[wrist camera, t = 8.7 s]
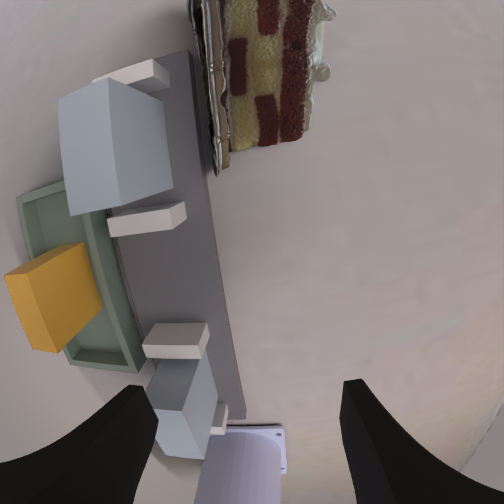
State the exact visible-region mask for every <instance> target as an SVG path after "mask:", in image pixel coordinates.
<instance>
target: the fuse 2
mask: <svg viewBox="0 0 504 504" xmlns="http://www.w3.org/2000/svg"><path fill="white" fill-rule="evenodd" d="M145 393H146V395H147V397H148V399H149V401H150V403H151V405H152V407H153V409H154V411H155V413H156V415H157V417H158V419H159V423H158V428H157V432H156V437H155V439H156V440H157V442H158V444H159V445H160V447H161V449H162V450H163V452H164V453H165V455H168V456H175V457H183V458H192V459H203V460H204V458H205V454H206V449H207V445H208V440H209V436H210V431H211V427H212V422H213V418H214V414H215V409H216V405H217V400H218V394H217V390H216V387H215V383H214V379H213V376H212V372H211V368H210V364H209V360H208V356H207V352H206V348H205V351H204V354H203V357H202V359H166V358H162V359H161V361H160V363H159V365H158V367H157V369H156V371H155V373H154V375H153V377H152V379H151V381H150V383H149V385H148V387H147V389H146V391H145Z"/></svg>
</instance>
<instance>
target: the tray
mask: <svg viewBox="0 0 504 504" xmlns="http://www.w3.org/2000/svg"><path fill="white" fill-rule="evenodd" d="M16 199H17V205H18V211H19V216H20V221H21V226H22V231H23V235H24V239H25V243H26V247H27V251H28V255H29V259H30V261H31V260H33V259H34V258H36V257H38V256H40V255H42V254H44V253H46V252H48V251H50V250H52V249H54V248H56V247H57V246H60V245H66V244H72V243H79V242H84V243H85V247H86V251H87V255H88V259H89V262H90V266H91V270H92V273H93V277H94V280H95V283H96V287H97V290H98V293H99V296H100V300H101V303H102V306H103V308H102V309H101V310H100V311H99V312H98V313H97V314H96V315H95V316H94V317H93V318H92V319H91V320H90V321H89V322H88V323H87V324H86V325H85V326H84V327H83V328H82V329H81V330H80V331H79V332H78V333H77V334H76V335H75V336H74V337H73V338H72V339H71V340H70V341H69V342H68V343H67V344H66V346H65V347H64V348H63V350H64V353H65V355H66V357H67V359H68V361H69V363H70V365H76V366H83V367H89V368H97V369H104V370H113V371H122V372H133V373H139V371H140V369H141V368H142V366H143V364H144V362H145V361H146V359H147V358H146V355H145V353H144V350H143V347H142V340H141V338H140V335H139V332H138V329H137V326H136V323H135V320H134V317H133V313H132V310H131V307H130V304H129V300H128V297H127V293H126V290H125V286H124V283H123V279H122V276H121V272H120V268H119V264H118V260H117V256H116V252H115V247H114V243H113V239H112V237H110V232H109V228H108V223H107V219H108V214H107V209H102V210H97V211H92V212H88V213H83V214H78V215H74V216H70V212H69V206H68V201H67V195H66V189H65V182H64V180H63V181H60V182H57V183H54V184H51V185H48V186H46V187H43V188H40V189H37V190H34V191H32V192H29V193H26V194H24V195H21V196H19V197H16Z"/></svg>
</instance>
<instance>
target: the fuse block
mask: <svg viewBox="0 0 504 504" xmlns="http://www.w3.org/2000/svg"><path fill="white" fill-rule="evenodd" d="M107 77H109V78H111V79H114V80H116V81H118V82H121V83H123V84H125V85H128V86H130V87H132V88H134V89H137V90H139V91H141V92H143V93H145V94H147V95H150V96H152V97H154V98H156V99H158V100H160V101H162V102H163V106H164V116H165V125H166V134H167V143H168V151H169V159H170V166H171V174H172V181H173V187H174V188H173V189H169V190H166V191H163V192H160V193H157V194H154V195H151V196H148V197H145V198H142V199H139V200H136V201H133V202H130V203H128V204H125V205H122V206H117V207H112V208H111V211H112V217H110V218H108V219H107V223H108V228H109V232H110V237H117V241H118V245H119V250H120V254H121V258H122V262H123V266H124V270H125V274H126V278H127V281H128V285H129V289H130V292H131V296H132V299H133V303H134V306H135V309H136V312H137V316H138V319H139V322H140V325H141V328H142V331H143V334H144V337H145V340H144V342H143V343H142V347H143V350H144V353H145V355H146V358H152V360H153V362H154V365H155V368H156V369H157V367H158V365H159V363H160V361H161V359H162V358H166V359H202V357H203V354H204V351H205V348H206V352H207V356H208V360H209V364H210V368H211V372H212V376H213V379H214V383H215V387H216V390H217V394H218V400H217V405H216V409H215V414H214V418H213V422H212V427H211V431H210V434H214V435H225V429H226V424H227V419H246V406H245V401H244V396H243V391H242V387H241V382H240V377H239V372H238V366H237V361H236V356H235V351H234V346H233V340H232V335H231V329H230V324H229V318H228V313H227V307H226V301H225V295H224V290H223V284H222V278H221V272H220V265H219V259H218V253H217V247H216V240H215V234H214V227H213V220H212V214H211V207H210V200H209V193H208V185H207V178H206V170H205V163H204V155H203V147H202V139H201V131H200V122H199V113H198V104H197V95H196V85H195V75H194V65H193V56H192V55H191V53H190V52H189V51H184V52H180V53H176V54H172V55H168V56H164V57H161V58H157V59H154V60H153V59H150V60H146V61H143V62H140V63H137V64H134V65H131V66H128V67H125V68H122V69H120V70H117V71H114V72H112V73H109V74H106V75H104V76H101V77H99V78H96V79H94V80H92V83H95V82H97V81H99V80H102V79H104V78H107Z"/></svg>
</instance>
